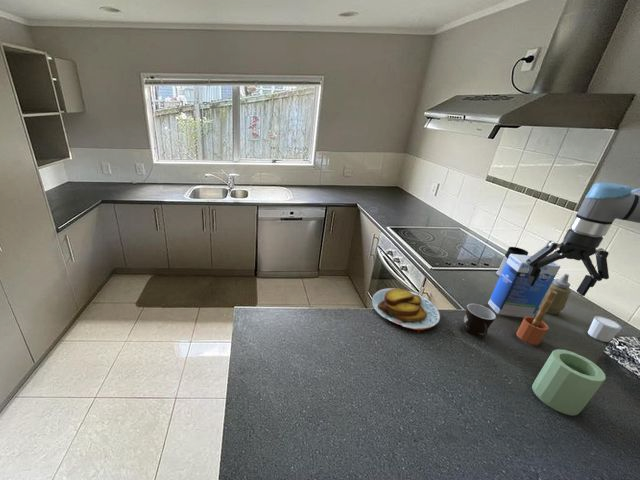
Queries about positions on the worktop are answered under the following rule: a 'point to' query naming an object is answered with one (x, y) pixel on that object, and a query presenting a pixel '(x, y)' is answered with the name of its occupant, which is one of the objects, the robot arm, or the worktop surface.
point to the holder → (510, 251)
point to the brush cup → (532, 331)
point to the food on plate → (406, 308)
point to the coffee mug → (477, 320)
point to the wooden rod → (544, 308)
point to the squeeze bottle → (558, 294)
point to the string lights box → (521, 288)
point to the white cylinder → (603, 328)
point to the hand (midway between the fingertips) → (554, 288)
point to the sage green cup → (567, 382)
